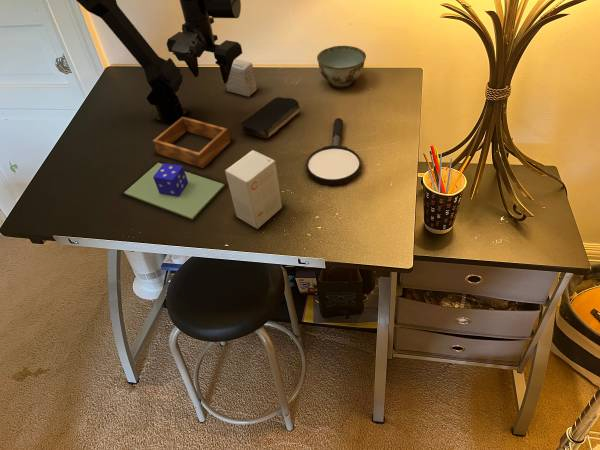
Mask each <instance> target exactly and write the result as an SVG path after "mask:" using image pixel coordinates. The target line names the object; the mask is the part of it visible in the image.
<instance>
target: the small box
mask: <svg viewBox="0 0 600 450" xmlns="http://www.w3.org/2000/svg"><path fill="white" fill-rule="evenodd" d="M224 172H225V177H226V180H227V184H228V188H229V191H230V196H231V199H232V203H233V207H234V212H235V215H236V217H237V218H238V219H240V220H241V221H242V222H245V223H246V224H248V225H249V226H252V227H253V228H255V229H256V230H258V229H259V228H260V227H261V226H263V225H264V224H265V223H266V222H267V221H269V219H271V218H272V217H274V216H275V214H277V213H278V212H279V211H280V210H281V209H282V208H283V205H282V197H281V191H280V190H281V189H280V185H279V178H278V171H277V164H276V160H275V159H273V158H271V157H269V156H267V155H265V154H262V153H260V152H258V151H256V150H254V149H252V150H251V151H249V152H248V153H246V154H245V155H244V156H242V157H241V158H239V160H237V161H236V162H234V163H233V164H232V165H230V166H229V167H227V168H226V169H225V170H224Z"/></svg>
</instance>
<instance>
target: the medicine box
mask: <svg viewBox="0 0 600 450" xmlns="http://www.w3.org/2000/svg"><path fill="white" fill-rule="evenodd" d="M254 71H255V70H254V66H253V63H252V62H251V61H246V60H242V59H238V58H236V59H235V60H234V61H233V64H232V67H231V71H230V75H229V79H228V82H227V83H226V84H225V87H226V92H228V93H232V94H235V95H240V96H243V97H248V98H249V97H250V96H251V95H252V94H254V93H255V92H257V89H258V87H257V81H256V77H255V72H254Z"/></svg>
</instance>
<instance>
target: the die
mask: <svg viewBox="0 0 600 450" xmlns="http://www.w3.org/2000/svg"><path fill="white" fill-rule="evenodd" d="M162 164H163V165H162V166H161V167H160V169H159V170H158V171H157V173H156V174H155V175H154V176H153V178H154V181H155V183H156V186H157V188H158V191H159V193H160V194H166V195H172V196H179V195H180V194H181V192H182V191H183V189H184V188H185V187H186V185H187V184H188V180H187V177H186V174H185V172H186V171H185V168H184V166H183V165H178V164H170V163H165V162H164V163H162Z"/></svg>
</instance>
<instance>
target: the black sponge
mask: <svg viewBox="0 0 600 450" xmlns="http://www.w3.org/2000/svg"><path fill="white" fill-rule="evenodd" d="M300 108H301V107H300V103H299V101H298V100H296V99H295V98H292V97H280V96H277V97H275V98H273V99H271V100H270V101H269V102H268V103H266V104H265V105H264V106H262V107H261V108H259V109H258V110H257V111H256V112H254V113H252V115H250V116H248V118H245V119H244V120H242V122H241V123H240V125H241V128H242V131H243V132H244V133H245V134H248V135H253V136H256V137H258V138H259V137H260V138H262V139H263V138H265V139H267V138H270V137H271V136H272V135H273V134H275V133H276V132H277V131H278V130H279V129H280V128H282V127H283V126H284V125H286V124H287V123H288V122H289V121H290V120H291V119H293V118H294V117H295V116H296V115H297V114H298V113H299V112H300Z"/></svg>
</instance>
